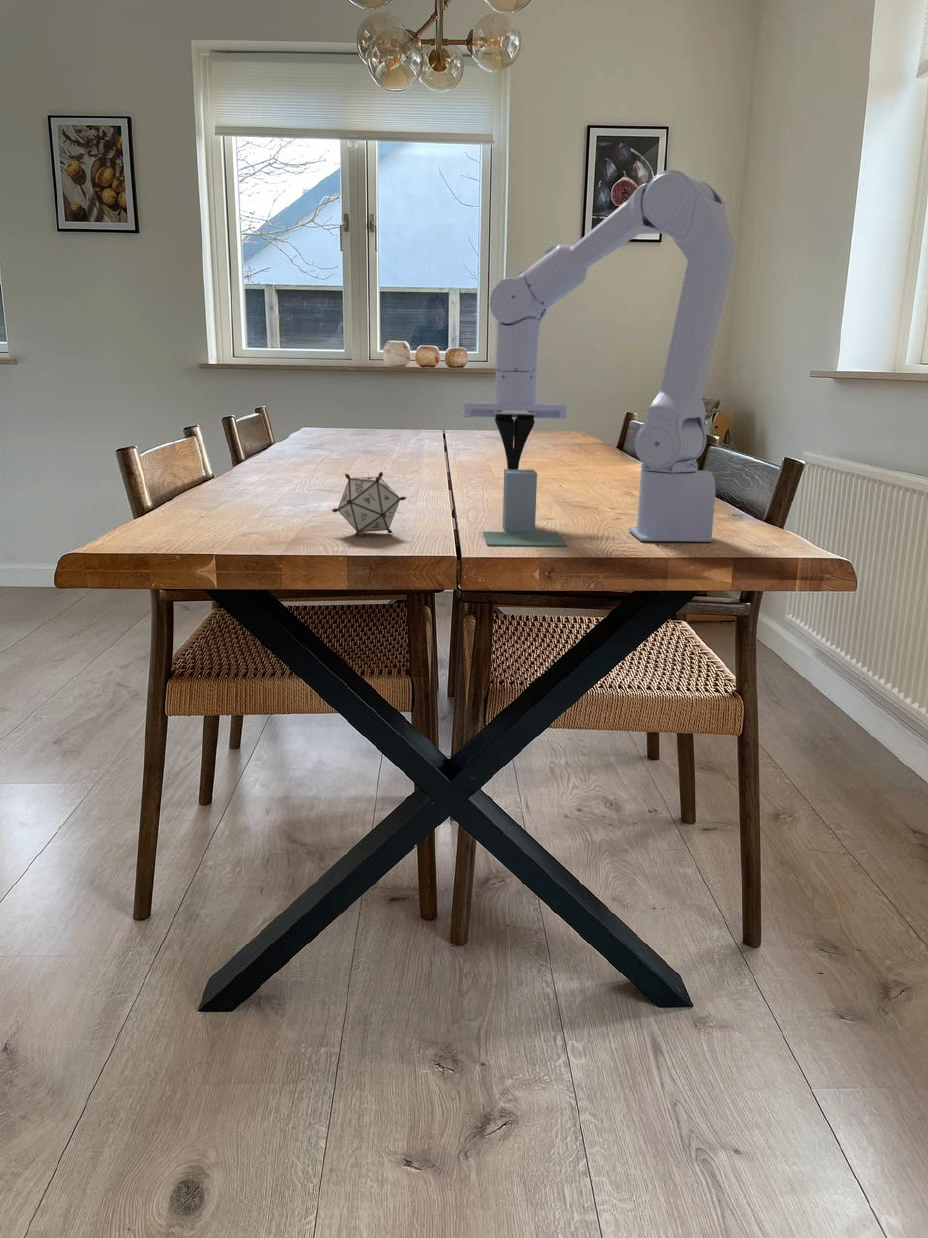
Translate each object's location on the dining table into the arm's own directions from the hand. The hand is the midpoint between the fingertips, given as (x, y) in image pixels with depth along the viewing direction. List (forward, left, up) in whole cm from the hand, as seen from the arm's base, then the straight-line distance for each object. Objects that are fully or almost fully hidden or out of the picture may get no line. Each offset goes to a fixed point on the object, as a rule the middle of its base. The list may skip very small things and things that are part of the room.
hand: (512, 468), depth 136 cm
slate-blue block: (0, +10, -7) cm, 12 cm away
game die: (+20, +14, -7) cm, 25 cm away
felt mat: (0, +17, -7) cm, 18 cm away
